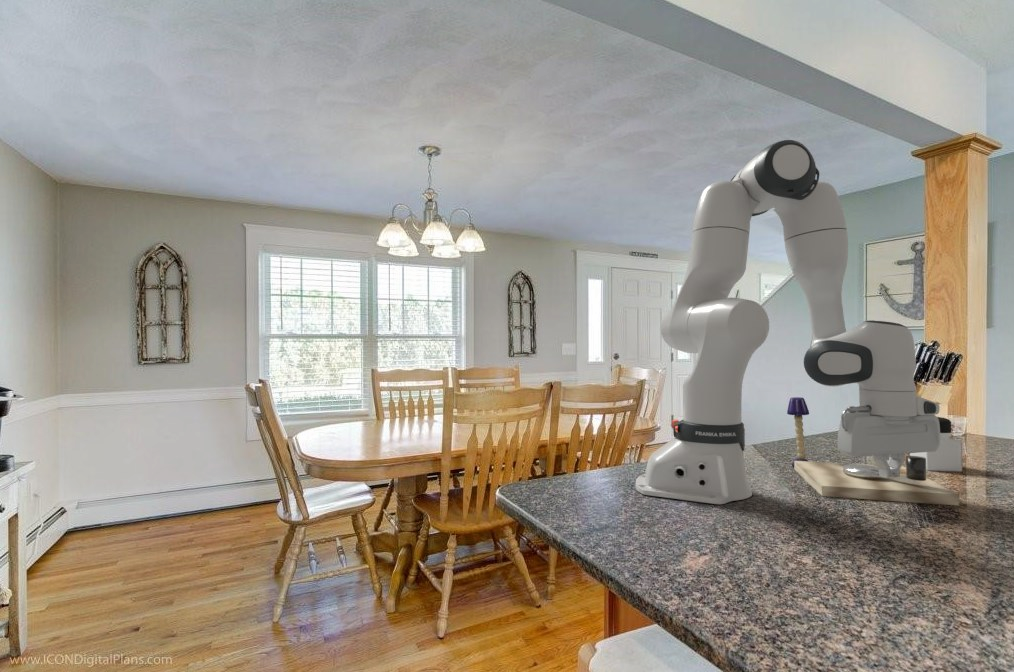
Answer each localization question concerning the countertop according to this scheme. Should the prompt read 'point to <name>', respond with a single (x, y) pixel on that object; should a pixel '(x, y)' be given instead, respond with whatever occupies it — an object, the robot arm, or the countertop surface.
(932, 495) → the birch stand
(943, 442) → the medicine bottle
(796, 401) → the toy lamp
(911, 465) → the silver disc with handle
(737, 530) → the countertop surface
